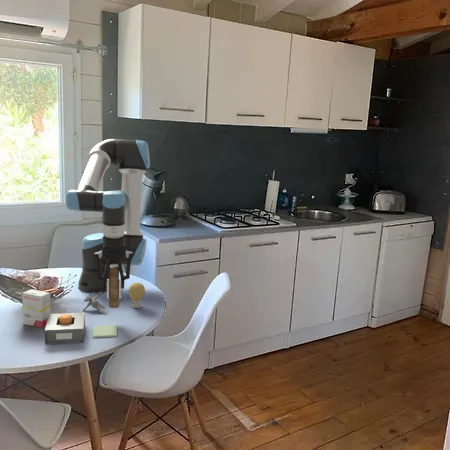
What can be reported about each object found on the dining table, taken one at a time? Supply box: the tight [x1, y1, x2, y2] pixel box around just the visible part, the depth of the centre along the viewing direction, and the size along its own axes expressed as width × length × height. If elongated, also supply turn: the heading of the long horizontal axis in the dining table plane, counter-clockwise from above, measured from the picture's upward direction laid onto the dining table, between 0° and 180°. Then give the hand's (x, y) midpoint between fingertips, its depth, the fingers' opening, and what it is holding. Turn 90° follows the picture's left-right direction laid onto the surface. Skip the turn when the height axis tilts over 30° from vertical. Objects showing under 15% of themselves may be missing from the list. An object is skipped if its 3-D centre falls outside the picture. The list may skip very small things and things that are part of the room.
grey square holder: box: [44, 312, 86, 345], centre depth 167 cm, size 13×12×5 cm
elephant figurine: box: [82, 292, 107, 314], centre depth 188 cm, size 10×6×9 cm
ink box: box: [21, 288, 52, 329], centre depth 173 cm, size 9×5×12 cm, turn 72°
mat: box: [92, 324, 118, 339], centre depth 171 cm, size 8×8×1 cm
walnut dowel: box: [108, 265, 120, 309], centre depth 176 cm, size 4×4×15 cm
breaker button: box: [59, 315, 72, 325], centre depth 166 cm, size 4×4×3 cm
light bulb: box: [128, 282, 146, 309], centre depth 192 cm, size 6×6×10 cm
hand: (113, 296), depth 177 cm, fingers closed on walnut dowel, 3 cm apart
